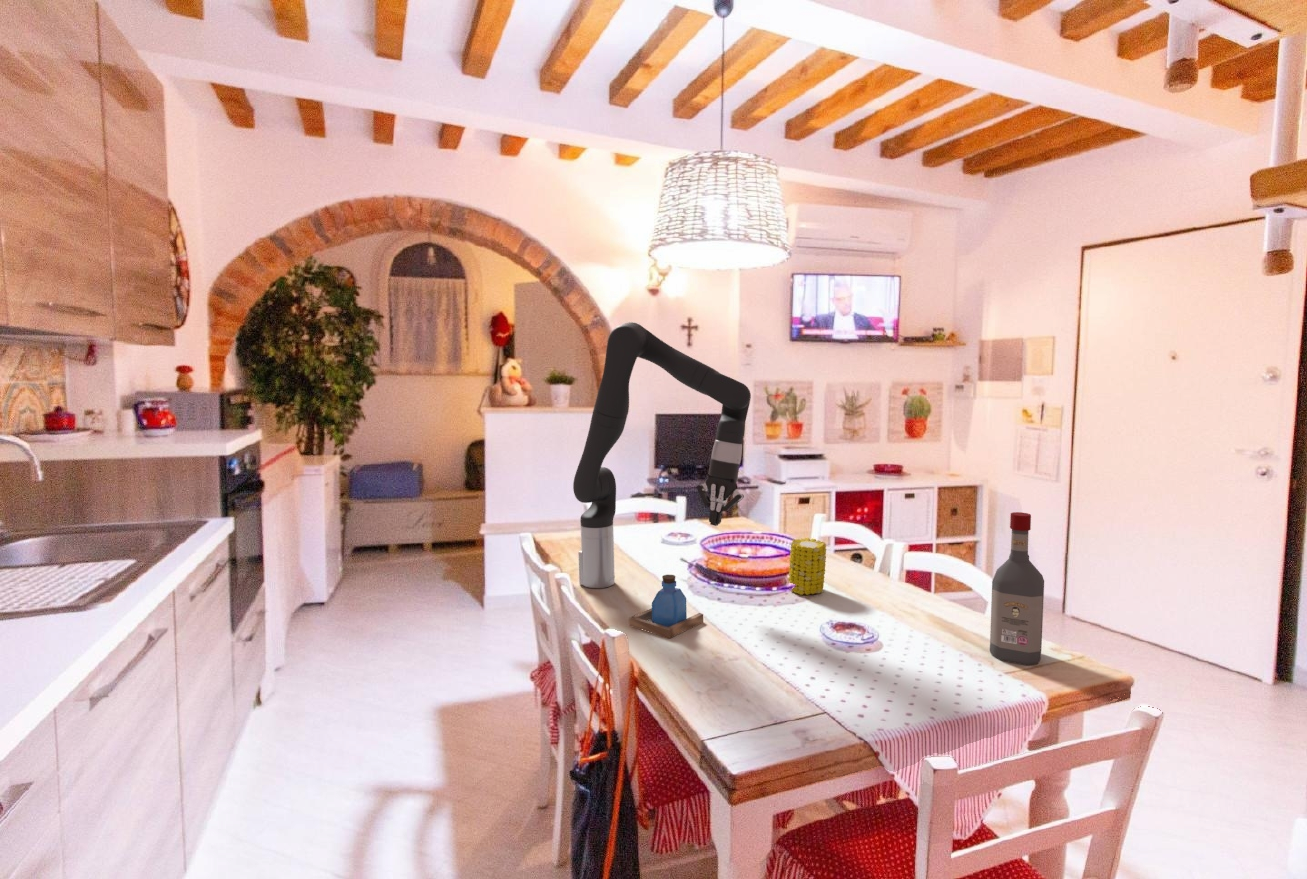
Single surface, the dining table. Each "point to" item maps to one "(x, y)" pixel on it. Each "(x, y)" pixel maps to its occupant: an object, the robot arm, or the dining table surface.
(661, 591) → the perfume bottle
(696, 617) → the frame
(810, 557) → the food
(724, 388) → the robot arm
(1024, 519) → the liquor
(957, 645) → the dining table surface
